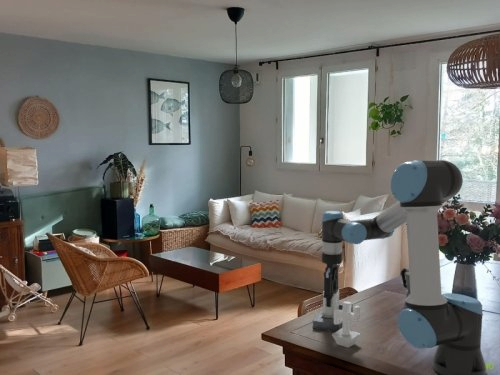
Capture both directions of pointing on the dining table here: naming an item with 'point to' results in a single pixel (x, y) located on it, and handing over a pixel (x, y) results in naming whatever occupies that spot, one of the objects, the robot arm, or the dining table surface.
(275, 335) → the dining table surface
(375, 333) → the dining table surface
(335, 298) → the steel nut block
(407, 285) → the coffeepot
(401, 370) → the dining table surface
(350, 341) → the figurine
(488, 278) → the dining table surface
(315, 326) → the dark grey flat block
